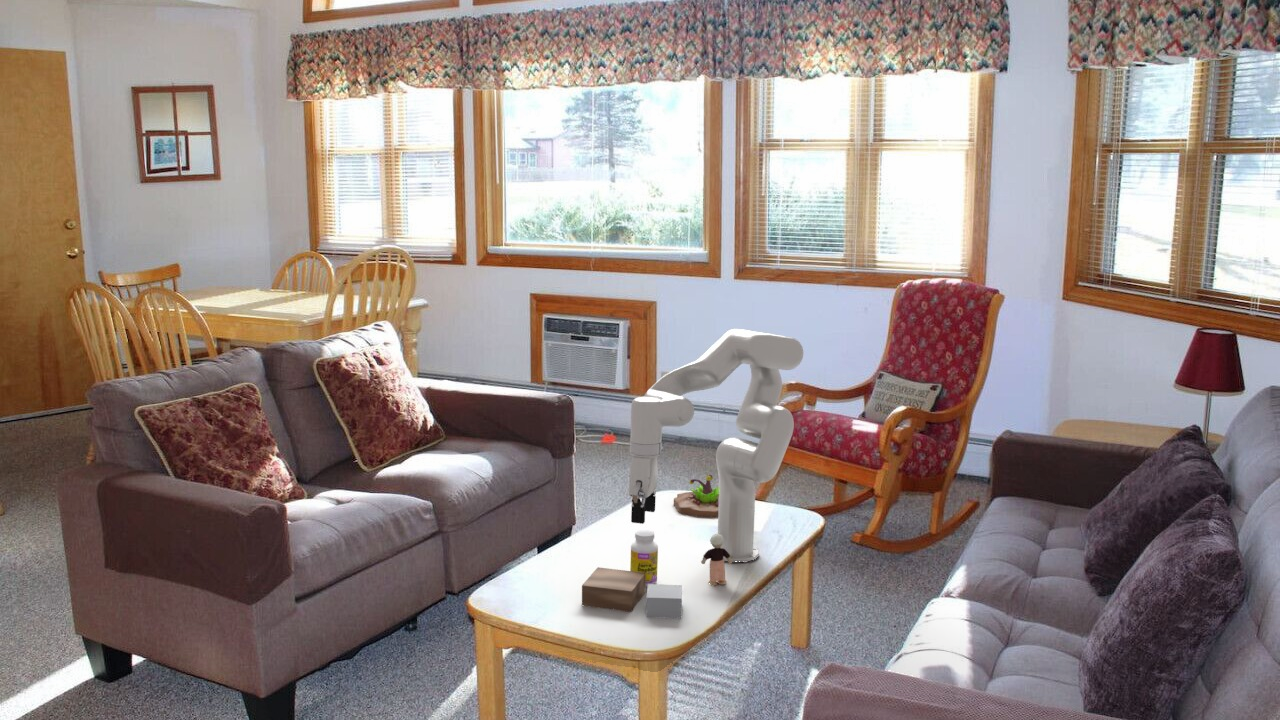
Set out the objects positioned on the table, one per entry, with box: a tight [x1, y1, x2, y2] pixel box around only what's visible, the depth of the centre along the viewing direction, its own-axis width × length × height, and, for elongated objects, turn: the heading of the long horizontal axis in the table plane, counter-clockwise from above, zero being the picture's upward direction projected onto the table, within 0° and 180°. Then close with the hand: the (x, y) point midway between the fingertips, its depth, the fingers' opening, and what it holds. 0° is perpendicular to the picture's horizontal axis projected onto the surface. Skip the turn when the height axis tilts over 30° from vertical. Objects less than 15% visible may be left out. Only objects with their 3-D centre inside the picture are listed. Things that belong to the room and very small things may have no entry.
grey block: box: [645, 583, 683, 620], centre depth 244 cm, size 8×8×5 cm
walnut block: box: [581, 567, 646, 613], centre depth 250 cm, size 12×12×5 cm
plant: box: [673, 473, 719, 518], centre depth 321 cm, size 20×20×11 cm
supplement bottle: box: [629, 529, 659, 588], centre depth 260 cm, size 7×7×13 cm
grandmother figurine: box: [700, 533, 733, 586], centre depth 260 cm, size 8×4×13 cm, turn 111°
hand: (643, 516), depth 258 cm, fingers open, 9 cm apart
